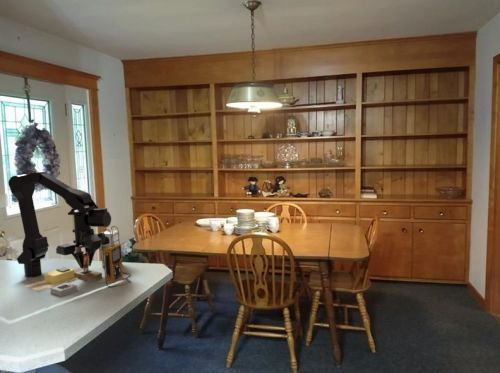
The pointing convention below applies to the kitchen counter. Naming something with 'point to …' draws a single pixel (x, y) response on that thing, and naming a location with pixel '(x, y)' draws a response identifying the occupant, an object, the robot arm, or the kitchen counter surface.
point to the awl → (86, 262)
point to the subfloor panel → (45, 284)
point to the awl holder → (64, 289)
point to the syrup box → (116, 241)
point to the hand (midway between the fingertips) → (85, 267)
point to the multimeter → (113, 261)
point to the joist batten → (89, 276)
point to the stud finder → (59, 275)
